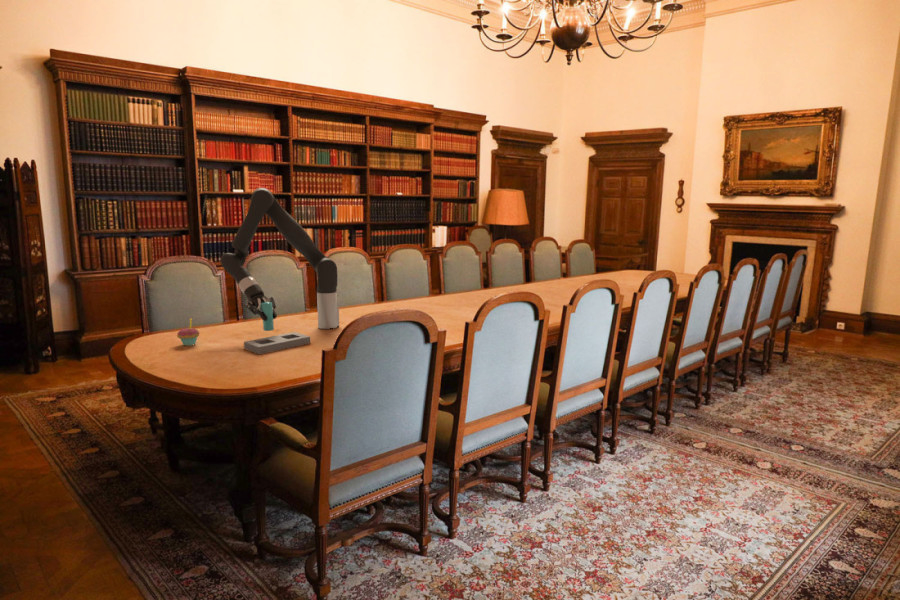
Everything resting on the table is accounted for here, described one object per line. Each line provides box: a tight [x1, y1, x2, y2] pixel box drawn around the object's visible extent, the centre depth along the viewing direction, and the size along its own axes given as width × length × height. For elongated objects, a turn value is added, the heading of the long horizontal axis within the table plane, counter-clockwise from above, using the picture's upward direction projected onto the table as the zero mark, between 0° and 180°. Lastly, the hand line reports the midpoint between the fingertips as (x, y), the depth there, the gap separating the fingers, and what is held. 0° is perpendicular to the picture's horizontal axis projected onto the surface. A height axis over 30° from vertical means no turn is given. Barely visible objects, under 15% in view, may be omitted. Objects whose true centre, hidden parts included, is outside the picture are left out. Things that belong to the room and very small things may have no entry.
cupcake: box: [176, 317, 200, 346], centre depth 243 cm, size 9×8×12 cm
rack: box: [243, 331, 311, 355], centre depth 242 cm, size 24×12×3 cm, turn 137°
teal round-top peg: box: [262, 302, 275, 332], centre depth 251 cm, size 4×4×12 cm
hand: (270, 318), depth 251 cm, fingers closed on teal round-top peg, 4 cm apart
